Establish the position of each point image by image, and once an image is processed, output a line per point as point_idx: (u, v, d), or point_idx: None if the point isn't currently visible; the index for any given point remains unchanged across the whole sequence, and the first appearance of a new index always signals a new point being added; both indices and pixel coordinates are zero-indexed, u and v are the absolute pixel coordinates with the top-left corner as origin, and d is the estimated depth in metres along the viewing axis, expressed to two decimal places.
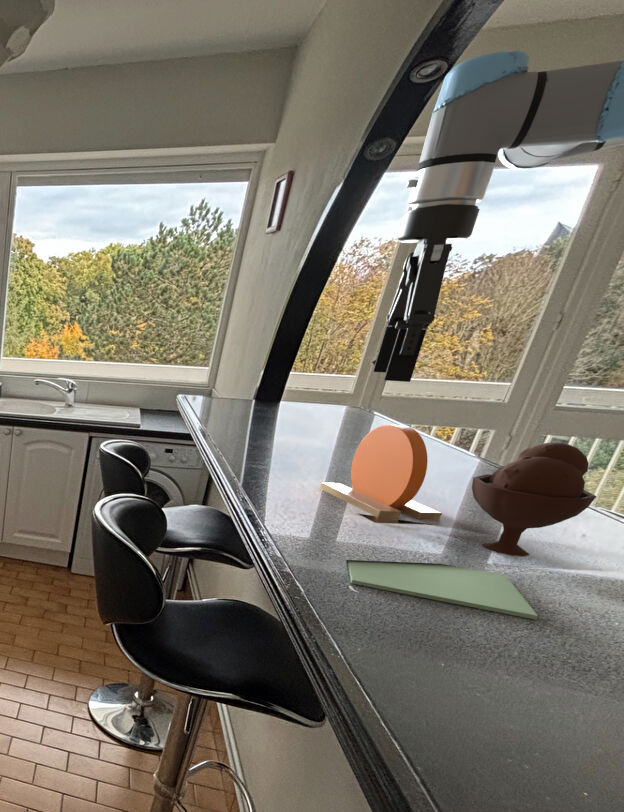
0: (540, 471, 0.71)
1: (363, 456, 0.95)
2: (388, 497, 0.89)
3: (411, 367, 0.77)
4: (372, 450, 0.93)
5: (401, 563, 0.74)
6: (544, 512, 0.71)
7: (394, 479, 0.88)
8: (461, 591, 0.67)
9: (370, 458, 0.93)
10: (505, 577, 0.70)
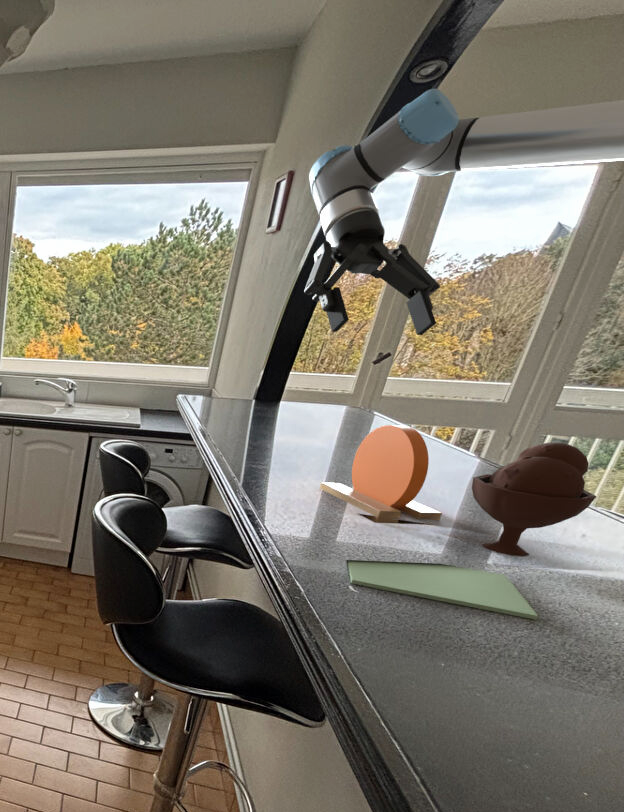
0: (540, 471, 0.71)
1: (364, 456, 0.95)
2: (388, 498, 0.89)
3: (339, 311, 0.92)
4: (373, 449, 0.93)
5: (401, 563, 0.74)
6: (544, 512, 0.71)
7: (395, 480, 0.88)
8: (461, 591, 0.67)
9: (371, 458, 0.93)
10: (505, 577, 0.70)
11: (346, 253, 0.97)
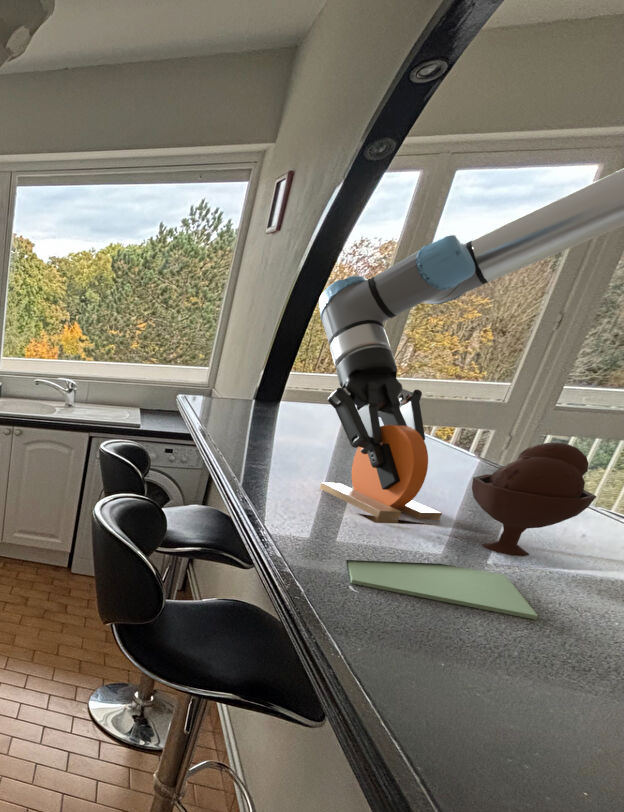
0: (540, 471, 0.71)
1: (364, 456, 0.95)
2: (388, 497, 0.89)
3: (390, 471, 0.88)
4: None
5: (401, 563, 0.74)
6: (544, 512, 0.71)
7: None
8: (461, 591, 0.67)
9: None
10: (505, 577, 0.70)
11: (356, 391, 0.94)
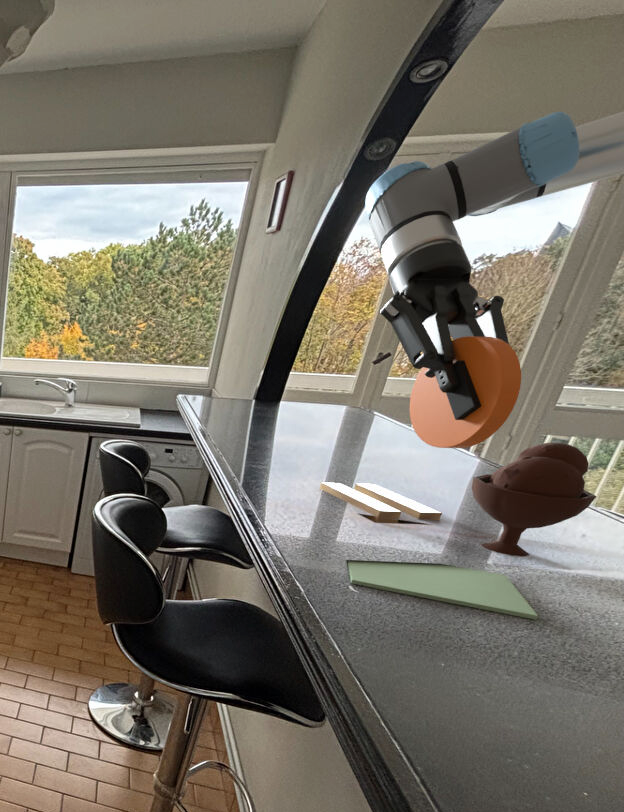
0: (540, 471, 0.71)
1: (427, 382, 0.74)
2: (463, 430, 0.69)
3: (467, 394, 0.68)
4: None
5: (401, 563, 0.74)
6: (544, 512, 0.71)
7: None
8: (461, 591, 0.67)
9: None
10: (505, 577, 0.70)
11: (418, 298, 0.74)
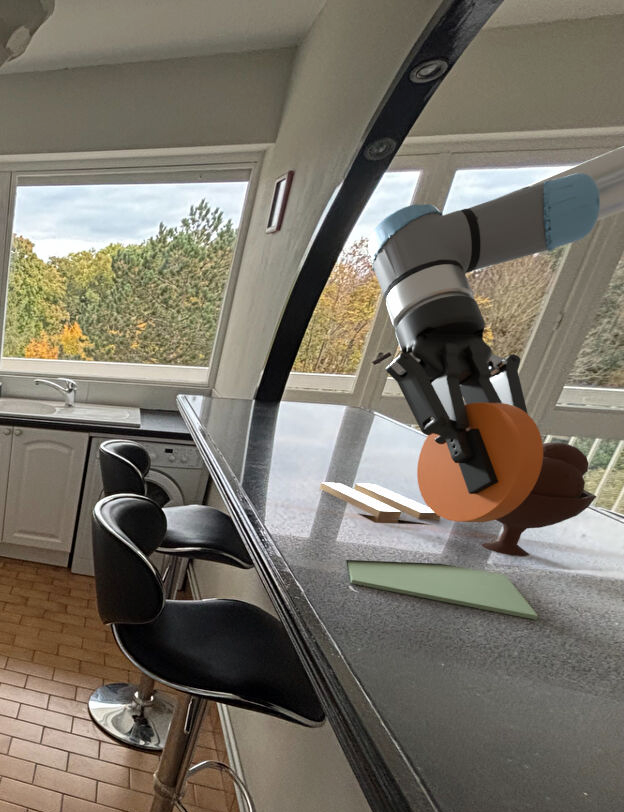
0: (540, 471, 0.71)
1: (437, 447, 0.68)
2: (478, 505, 0.63)
3: (482, 467, 0.62)
4: None
5: (401, 563, 0.74)
6: (544, 512, 0.71)
7: None
8: (461, 591, 0.67)
9: None
10: (505, 577, 0.70)
11: (428, 356, 0.68)
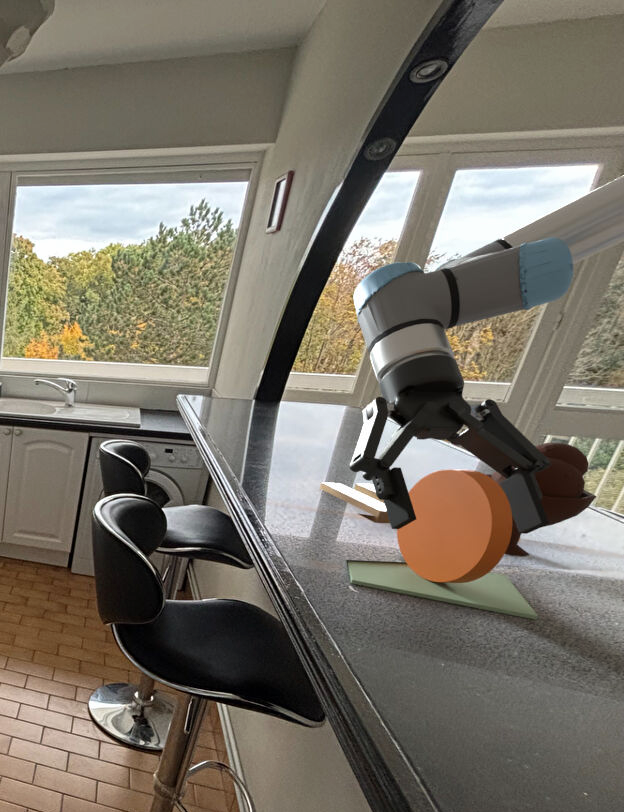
0: (540, 471, 0.71)
1: (415, 508, 0.71)
2: (453, 568, 0.66)
3: (402, 505, 0.65)
4: (428, 500, 0.69)
5: (401, 563, 0.74)
6: None
7: (462, 545, 0.65)
8: (461, 591, 0.67)
9: (426, 512, 0.70)
10: (505, 577, 0.70)
11: (409, 414, 0.70)
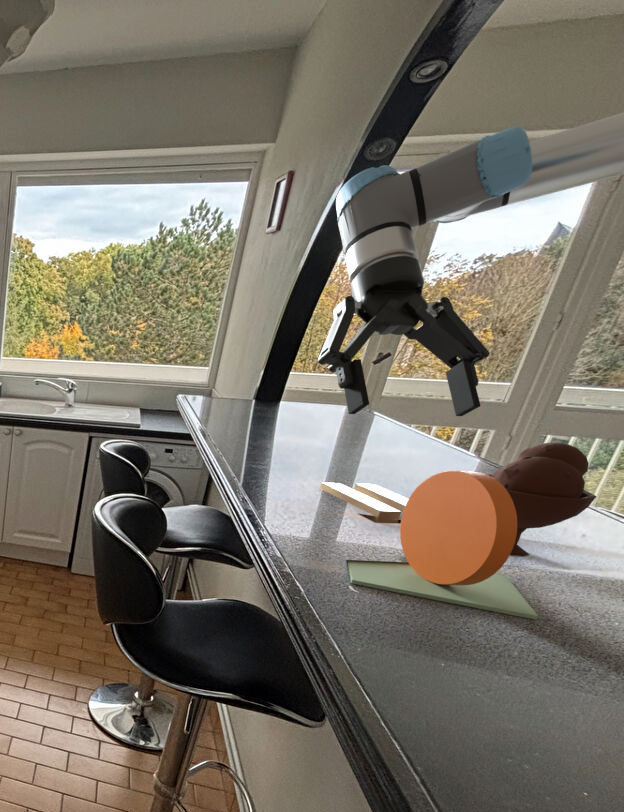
0: (540, 471, 0.71)
1: (420, 507, 0.71)
2: (453, 572, 0.66)
3: (359, 392, 0.76)
4: (433, 500, 0.69)
5: (401, 563, 0.74)
6: (544, 512, 0.71)
7: (465, 549, 0.64)
8: (461, 591, 0.67)
9: (431, 512, 0.69)
10: (505, 577, 0.70)
11: (373, 311, 0.79)
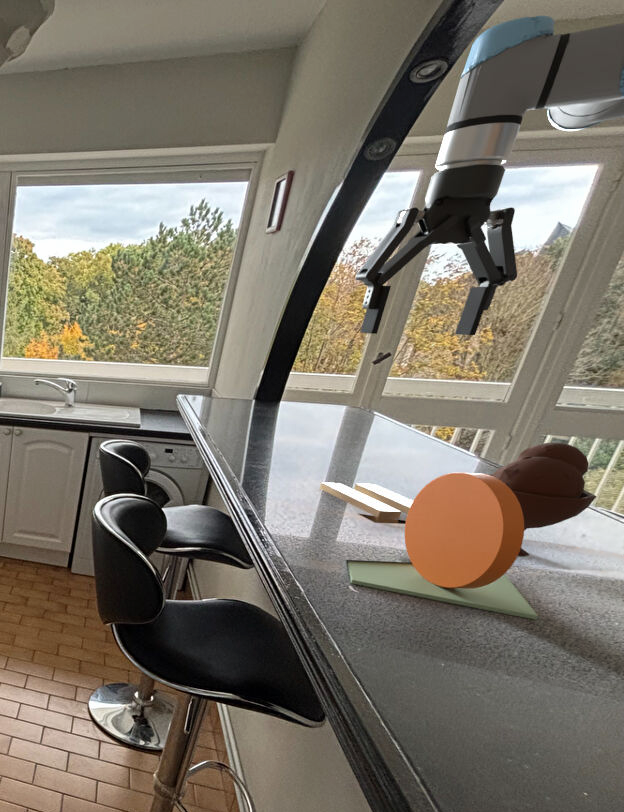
0: (540, 471, 0.71)
1: (427, 505, 0.70)
2: (454, 576, 0.65)
3: (374, 320, 0.86)
4: (442, 501, 0.67)
5: (401, 563, 0.74)
6: (544, 512, 0.71)
7: (468, 555, 0.64)
8: (461, 591, 0.67)
9: (438, 512, 0.68)
10: (505, 577, 0.70)
11: (431, 226, 0.82)
